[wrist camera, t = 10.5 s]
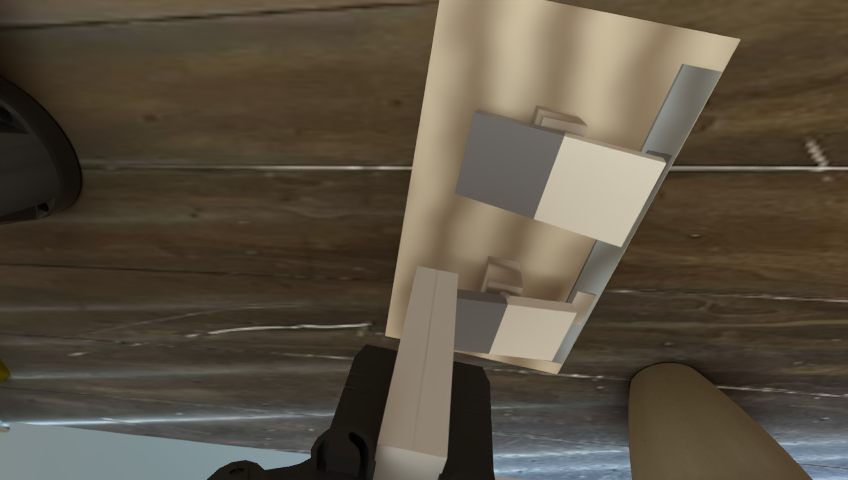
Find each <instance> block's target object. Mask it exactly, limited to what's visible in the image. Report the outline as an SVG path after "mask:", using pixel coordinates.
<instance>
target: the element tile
mask: <svg viewBox="0 0 848 480" xmlns="http://www.w3.org/2000/svg"><path fill="white" fill-rule="evenodd" d="M9 376H10V373H9V371H8V369H7V368H6V366H5V365H4V363H3V362H2V361H1V359H0V383H1V382H3V381H4V380H5V379H7V378H8V377H9Z"/></svg>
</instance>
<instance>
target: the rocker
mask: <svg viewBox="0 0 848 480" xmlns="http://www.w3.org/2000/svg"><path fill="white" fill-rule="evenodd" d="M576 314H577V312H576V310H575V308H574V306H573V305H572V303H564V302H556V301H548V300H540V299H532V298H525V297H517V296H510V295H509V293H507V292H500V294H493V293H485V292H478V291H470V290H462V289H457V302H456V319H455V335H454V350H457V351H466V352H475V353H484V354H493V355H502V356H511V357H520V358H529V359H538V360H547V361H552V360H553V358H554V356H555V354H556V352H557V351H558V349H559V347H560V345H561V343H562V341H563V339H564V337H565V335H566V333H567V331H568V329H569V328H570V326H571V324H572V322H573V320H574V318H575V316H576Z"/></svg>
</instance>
